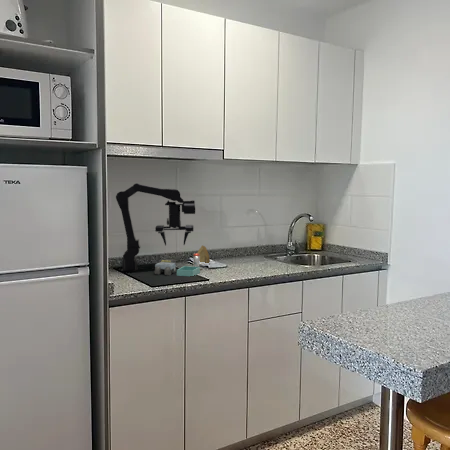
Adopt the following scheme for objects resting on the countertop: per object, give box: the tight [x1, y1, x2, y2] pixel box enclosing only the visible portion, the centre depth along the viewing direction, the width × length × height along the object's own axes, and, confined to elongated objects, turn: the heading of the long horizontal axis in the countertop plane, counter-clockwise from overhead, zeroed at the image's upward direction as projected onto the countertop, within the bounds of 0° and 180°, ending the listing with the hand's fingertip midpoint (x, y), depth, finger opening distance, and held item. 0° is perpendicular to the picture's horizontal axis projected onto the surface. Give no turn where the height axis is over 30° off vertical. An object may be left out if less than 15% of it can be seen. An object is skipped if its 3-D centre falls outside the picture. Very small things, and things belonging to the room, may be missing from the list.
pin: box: [192, 252, 200, 267], centre depth 228 cm, size 3×3×8 cm
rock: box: [196, 245, 211, 263], centre depth 246 cm, size 11×9×10 cm
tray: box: [176, 265, 201, 277], centre depth 217 cm, size 8×10×3 cm
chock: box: [160, 258, 176, 263], centre depth 228 cm, size 5×8×5 cm, turn 165°
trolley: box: [154, 261, 177, 276], centre depth 218 cm, size 8×10×5 cm
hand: (174, 245), depth 227 cm, fingers open, 9 cm apart
